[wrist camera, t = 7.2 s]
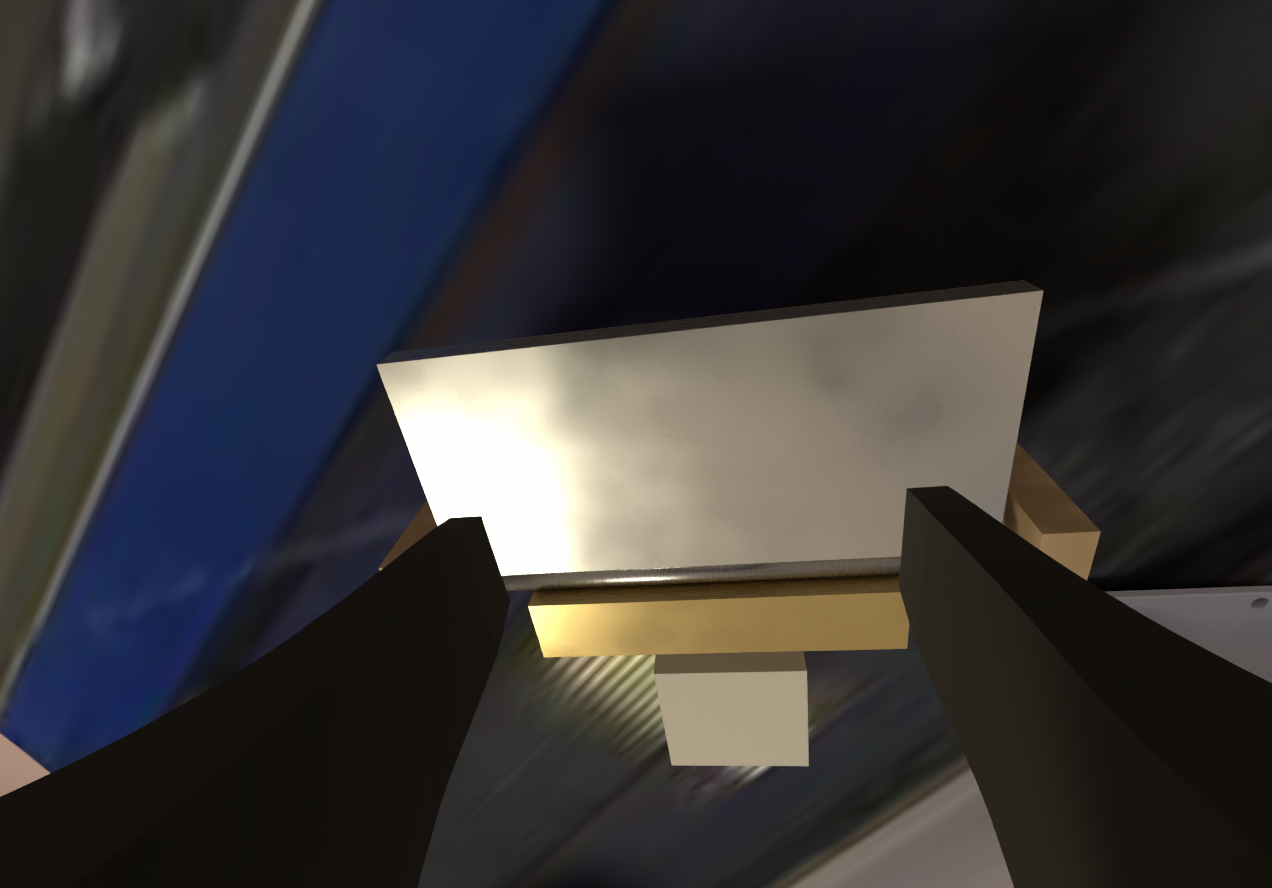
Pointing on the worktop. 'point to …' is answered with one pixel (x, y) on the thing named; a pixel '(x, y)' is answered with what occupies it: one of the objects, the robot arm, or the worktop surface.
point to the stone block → (734, 708)
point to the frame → (1028, 513)
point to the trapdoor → (721, 463)
